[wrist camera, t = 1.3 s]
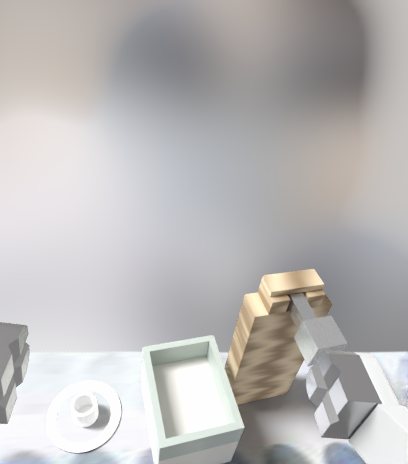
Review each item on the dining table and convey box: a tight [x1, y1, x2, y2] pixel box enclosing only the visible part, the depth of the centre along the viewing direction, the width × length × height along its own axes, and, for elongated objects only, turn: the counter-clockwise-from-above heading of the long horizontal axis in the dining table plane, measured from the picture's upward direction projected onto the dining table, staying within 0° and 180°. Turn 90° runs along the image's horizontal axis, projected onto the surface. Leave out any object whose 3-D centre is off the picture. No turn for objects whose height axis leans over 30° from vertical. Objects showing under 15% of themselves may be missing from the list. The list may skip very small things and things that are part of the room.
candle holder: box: [46, 380, 121, 453], centre depth 64 cm, size 12×12×4 cm
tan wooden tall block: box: [225, 269, 332, 405], centre depth 62 cm, size 12×4×30 cm, turn 105°
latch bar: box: [287, 292, 347, 366], centre depth 50 cm, size 4×11×4 cm, turn 15°
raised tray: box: [142, 335, 245, 464], centre depth 62 cm, size 12×16×12 cm
